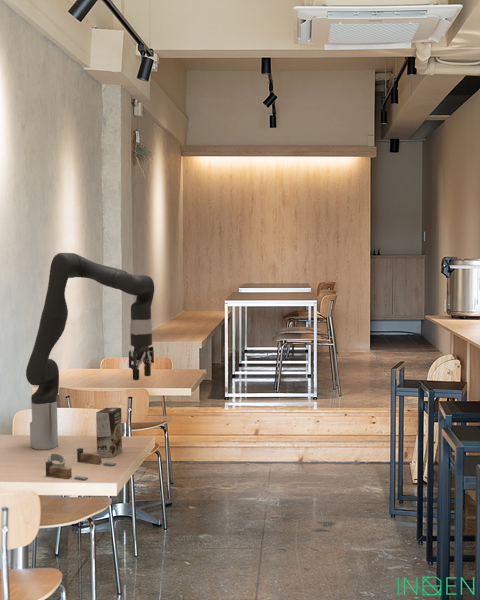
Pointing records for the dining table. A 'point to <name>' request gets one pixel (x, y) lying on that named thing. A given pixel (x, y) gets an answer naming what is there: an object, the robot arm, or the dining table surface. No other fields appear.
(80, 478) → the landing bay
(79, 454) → the corridor
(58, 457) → the wristwatch
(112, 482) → the dining table surface
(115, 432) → the coffee box
